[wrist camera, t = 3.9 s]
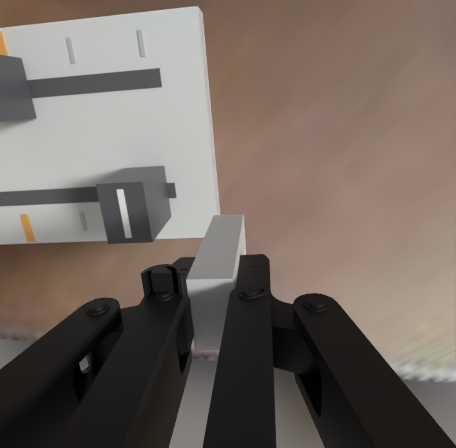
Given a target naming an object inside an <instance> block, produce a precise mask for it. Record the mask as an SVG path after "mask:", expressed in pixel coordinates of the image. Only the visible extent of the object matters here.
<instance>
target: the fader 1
mask: <svg viewBox="0 0 456 448" xmlns="http://www.w3.org/2000/svg"><path fill="white" fill-rule="evenodd" d="M35 118H37V117H36V113H35V109H34V105H33V101H32V97H31V93H30V89H29V85H28V81H27V77H26V73H25V69H24V66H23V62H22V58H19V57H12V56H5V55H0V122H7V121H16V120H25V119H35Z"/></svg>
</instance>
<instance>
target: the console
mask: <svg viewBox="0 0 456 448" xmlns="http://www.w3.org/2000/svg"><path fill="white" fill-rule="evenodd" d="M0 55H5V56H12V57H19V58H22V62H23V66H24V69H25V73H26V77H27V81H28V85H29V89H30V93H31V97H32V101H33V105H34V109H35V113H36V117H37V118H35V119H25V120H16V121H7V122H0V244H28V243H57V242H85V241H107V236H106V231H105V226H104V222H103V217H102V212H101V207H100V203H99V198H98V193H97V189H96V184H97V183H98V182H100V181H102V180H104V179H106V178H108V177H110V176H111V175H113V174H115V173H117V172H119V171H121V170H123V169H124V168H133V167H150V166H164V167H165V174H166V181H167V188H168V195H169V203H170V210H171V218H170V219H169V221H168V222H167V223H166V225H165V226H164V227H163V229H162V230H161V231H160V233H159V234H158V235H157V237H156V238H155V239H172V238H200V237H204V236H205V234H206V232H207V229H208V227H209V225H210V222H211V220H212V218H213V215H220V206H219V194H218V183H217V172H216V160H215V149H214V137H213V126H212V115H211V103H210V92H209V80H208V69H207V58H206V46H205V35H204V24H203V13H202V11H201V10H200V9H199V7H198V6H194V7H185V8H176V9H167V10H158V11H149V12H140V13H131V14H122V15H113V16H104V17H95V18H86V19H77V20H68V21H59V22H51V23H42V24H33V25H24V26H15V27H6V28H0Z"/></svg>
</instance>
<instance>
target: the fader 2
mask: <svg viewBox="0 0 456 448" xmlns="http://www.w3.org/2000/svg"><path fill="white" fill-rule="evenodd" d="M96 189H97V193H98V198H99V203H100V207H101V212H102V217H103V222H104V226H105V231H106V236H107V241H108V244H114V243H143V242H153V241H154V240H155V238H156V237H157V235H158V234H159V233H160V231H161V230H162V229H163V227H164V226H165V225H166V223H167V222H168V221H169V219H170V218H171V210H170V203H169V195H168V188H167V181H166V174H165V167H164V166H150V167H133V168H124V169H123V170H121V171H119V172H117V173H115V174H113V175H111V176H110V177H108V178H106V179H104V180H102V181H100V182H98V183H97V184H96Z"/></svg>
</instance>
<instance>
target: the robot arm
mask: <svg viewBox="0 0 456 448" xmlns="http://www.w3.org/2000/svg"><path fill="white" fill-rule="evenodd" d="M141 278H142V284H143V289H144V295H145V296H144V298H143V299H142V301H141V303H140V304H139V305H137V306H133V307H128V308H123V309H120V305H119V302H118V301H117V300H116V299H113V298H100V299H99V298H98V299H94V300H92V301H90V302H87V303H86V304H84V305H82V306H81V307H80V308H78V309H77V310H76V311H74V312H73V313H72V314H71V315H69V316H68V317H67V318H66V319H64V320H63V321H62V322H60V323H59V324H58V325H57V326H55V327H54V328H53V329H51V330H50V331H49V332H48V333H46V334H45V335H44V336H42V337H41V338H40V339H39V340H37V341H36V342H35V343H33V344H32V345H31V346H30V347H28V348H27V349H26V350H24V351H23V352H22V353H21V354H19V355H18V356H17V357H16V358H14V359H13V360H12V361H11V362H9V363H8V364H6V365H5V366H4V367H3V368H2V369H1V370H0V448H169V444H170V440H171V437H172V433H173V429H174V426H175V422H176V418H177V414H178V410H179V407H180V403H181V399H182V396H183V392H184V388H185V385H186V381H187V377H188V373H189V370H190V366H191V362H192V351H191V344H192V341H193V338H194V346H195V350H220V352H219V357H218V363H217V369H216V375H215V380H214V386H213V391H212V397H211V403H210V408H209V414H208V420H207V426H206V431H205V437H204V443H203V448H276V426H275V396H274V367H275V368H279V369H283V370H287V371H290V372H294V376H295V380H296V383H297V385H298V387H299V389H300V392H301V394H302V396H303V399H304V401H305V403H306V406H307V408H308V410H309V412H310V414H311V417H312V419H313V421H314V424H315V426H316V428H317V431H318V433H319V435H320V437H321V439H322V442H323V444H324V447H325V448H456V445H455V444H454V443H453V442H452V441H451V439H450V438H449V437H448V436H447V435H446V433H445V432H444V431H443V430H442V429H441V427H440V426H439V425H438V424H437V423H436V421H435V420H434V419H433V418H432V416H431V415H430V414H429V413H428V412H427V411H426V409H425V408H424V407H423V405H422V404H421V403H420V402H419V401H418V399H417V398H416V397H415V396H414V395H413V393H412V392H411V391H410V390H409V389H408V387H407V386H406V385H405V384H404V382H403V381H402V380H401V379H400V378H399V376H398V375H397V374H396V373H395V372H394V370H393V369H392V368H391V367H390V366H389V364H388V363H387V362H386V361H385V359H384V358H383V357H382V356H381V355H380V353H379V352H378V351H377V350H376V349H375V347H374V346H373V345H372V344H371V343H370V341H369V340H368V339H367V338H366V336H365V335H364V334H363V333H362V332H361V330H360V329H359V328H358V327H357V326H356V324H355V323H354V322H353V321H352V320H351V318H350V317H349V316H348V315H347V313H346V312H345V311H344V310H343V309H342V307H341V306H340V305H339V304H338V303H337V302H336V301H335V300H334V299H333V298H331V297H329V296H326V295H323V294H318V293H313V294H305V295H301V296H299V297H298V298H296V299H295V301H294V303H293V304H289V303H285V302H282V301H280V300H277V299H276V298H275V297H273V295H272V294H271V290H270V265H269V259H268V258H267V257H266V256H265V255H264V254H258V255H246V245H245V229H244V214H236V215H213V218H212V220H211V222H210V225H209V227H208V229H207V232H206V234H205V236H204V239H203V241H202V243H201V246H200V248H199V251H198V253H197V255H196V257H184V258H180V259H178V260H177V261H175V262H174V263H173V264H172V265H171V264H162V265H156V266H153V267H150V268H148V269H146V270H144V271H143V272H142V273H141ZM85 356H86V357H87V360H88V364H89V366H88V367H87V368H86V369H85V370H84V371H81V369H80V365H79V362H80V361H81V360H82V359H83V358H84V357H85Z"/></svg>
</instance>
